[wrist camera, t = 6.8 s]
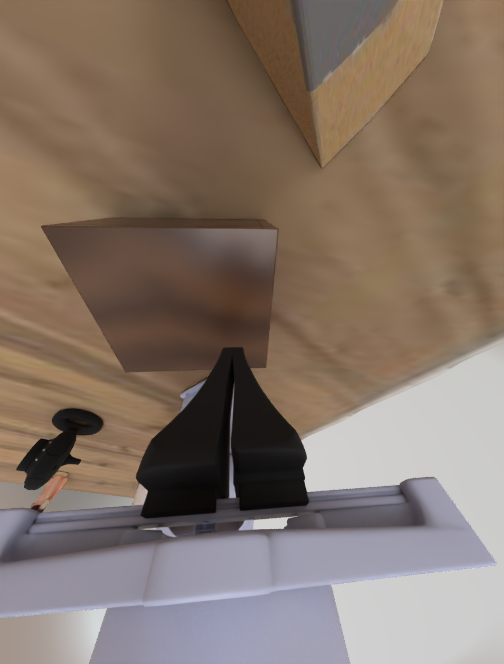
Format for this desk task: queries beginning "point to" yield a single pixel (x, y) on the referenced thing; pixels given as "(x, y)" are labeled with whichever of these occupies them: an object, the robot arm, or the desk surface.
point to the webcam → (57, 447)
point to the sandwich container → (337, 58)
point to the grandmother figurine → (50, 491)
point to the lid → (173, 290)
